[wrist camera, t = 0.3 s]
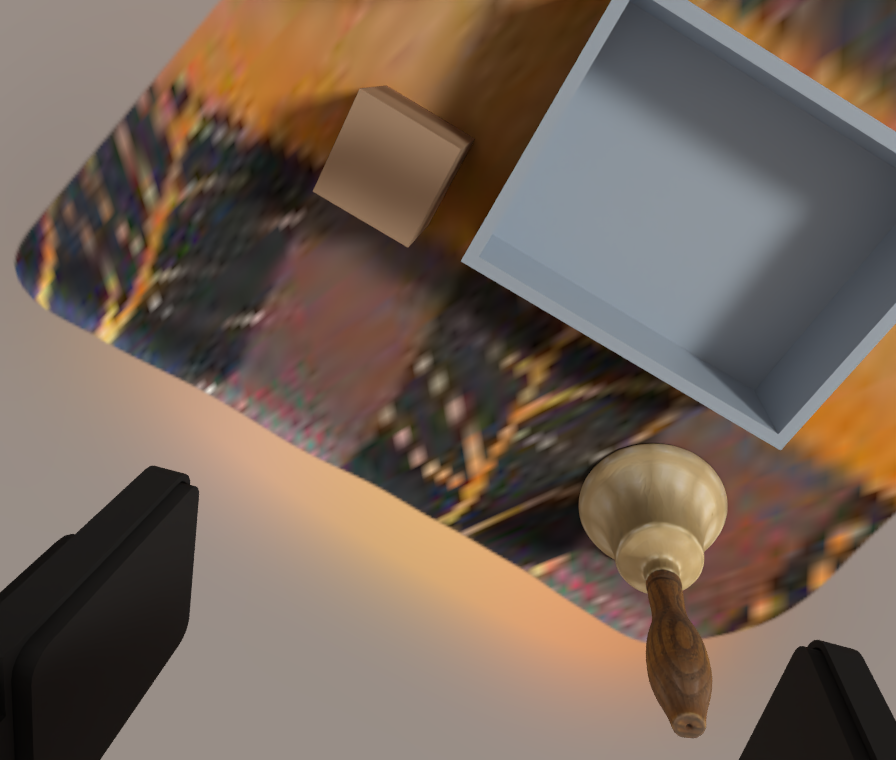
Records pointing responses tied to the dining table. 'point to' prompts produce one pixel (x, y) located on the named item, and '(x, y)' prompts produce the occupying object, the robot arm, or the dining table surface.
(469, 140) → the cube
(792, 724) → the robot arm
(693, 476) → the hand bell
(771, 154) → the tote
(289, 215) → the dining table surface
